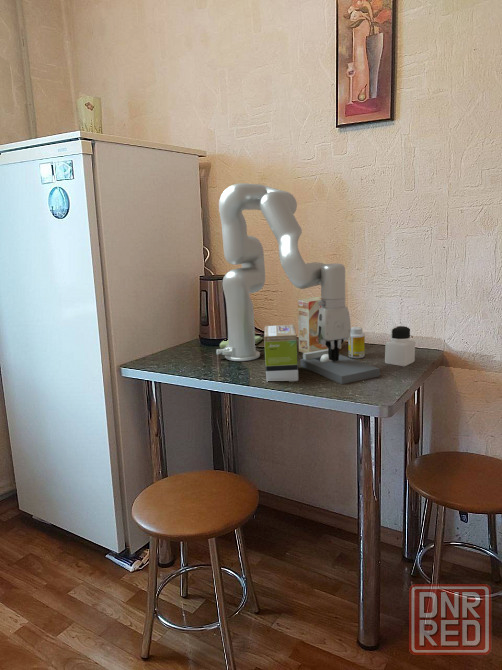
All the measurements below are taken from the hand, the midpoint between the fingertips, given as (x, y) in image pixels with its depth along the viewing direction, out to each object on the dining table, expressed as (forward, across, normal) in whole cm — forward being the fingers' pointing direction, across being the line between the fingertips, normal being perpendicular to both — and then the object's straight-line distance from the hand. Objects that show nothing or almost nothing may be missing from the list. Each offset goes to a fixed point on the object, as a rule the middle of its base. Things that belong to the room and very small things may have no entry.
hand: (333, 359), depth 169 cm
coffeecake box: (+3, +10, +23) cm, 25 cm away
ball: (+1, 0, +4) cm, 4 cm away
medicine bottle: (+3, +22, -6) cm, 23 cm away
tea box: (+3, -17, +4) cm, 18 cm away
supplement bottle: (+3, +15, +8) cm, 17 cm away
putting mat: (+3, 0, -2) cm, 4 cm away
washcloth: (+4, -10, +49) cm, 50 cm away
